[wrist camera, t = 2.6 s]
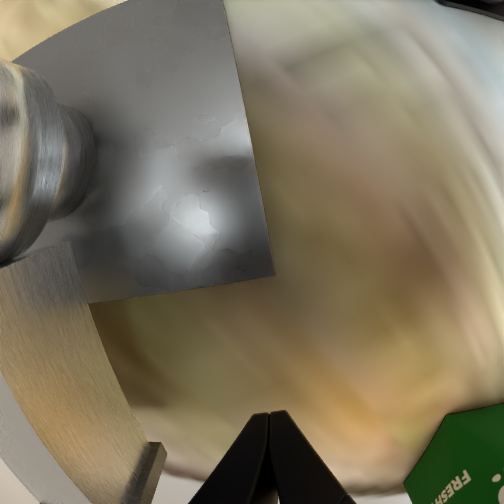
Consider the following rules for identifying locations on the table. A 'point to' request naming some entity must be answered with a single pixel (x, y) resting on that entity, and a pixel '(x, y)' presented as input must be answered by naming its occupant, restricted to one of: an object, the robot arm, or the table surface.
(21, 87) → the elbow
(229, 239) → the base
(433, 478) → the milk carton
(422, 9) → the table surface
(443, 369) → the table surface
